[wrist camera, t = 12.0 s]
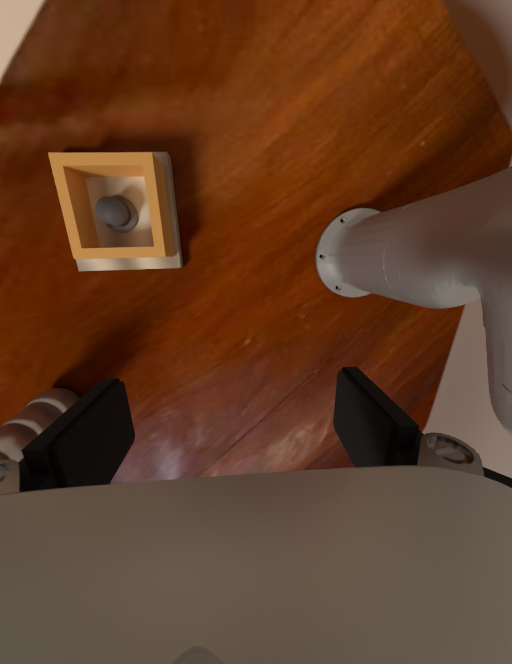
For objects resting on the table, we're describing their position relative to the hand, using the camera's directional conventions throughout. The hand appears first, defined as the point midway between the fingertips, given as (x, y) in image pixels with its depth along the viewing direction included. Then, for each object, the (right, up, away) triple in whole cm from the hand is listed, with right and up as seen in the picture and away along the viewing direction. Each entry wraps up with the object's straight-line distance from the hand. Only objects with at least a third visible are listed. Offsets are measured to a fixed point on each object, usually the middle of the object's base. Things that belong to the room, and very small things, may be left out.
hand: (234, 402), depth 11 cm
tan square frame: (-16, +19, +21) cm, 33 cm away
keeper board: (-17, +19, +23) cm, 34 cm away
